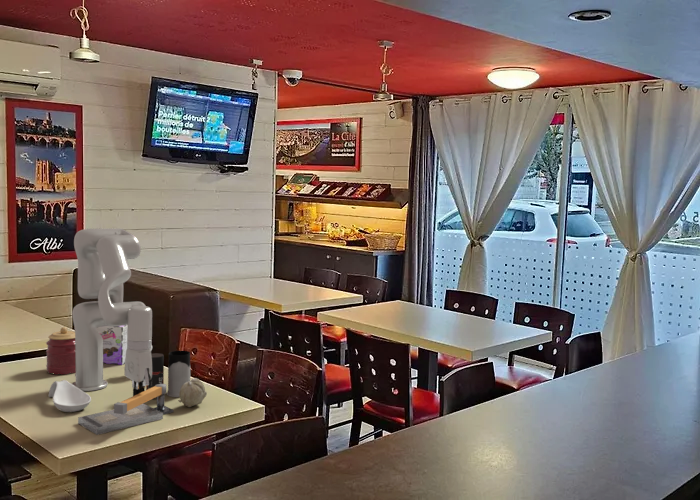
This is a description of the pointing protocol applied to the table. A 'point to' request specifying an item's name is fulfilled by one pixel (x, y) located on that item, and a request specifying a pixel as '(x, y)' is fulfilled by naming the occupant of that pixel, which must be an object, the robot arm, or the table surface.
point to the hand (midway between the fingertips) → (138, 399)
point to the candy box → (114, 344)
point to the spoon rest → (68, 396)
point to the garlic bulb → (192, 392)
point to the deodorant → (157, 370)
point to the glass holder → (178, 371)
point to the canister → (61, 352)
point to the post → (162, 405)
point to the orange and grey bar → (139, 399)
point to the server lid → (119, 419)
